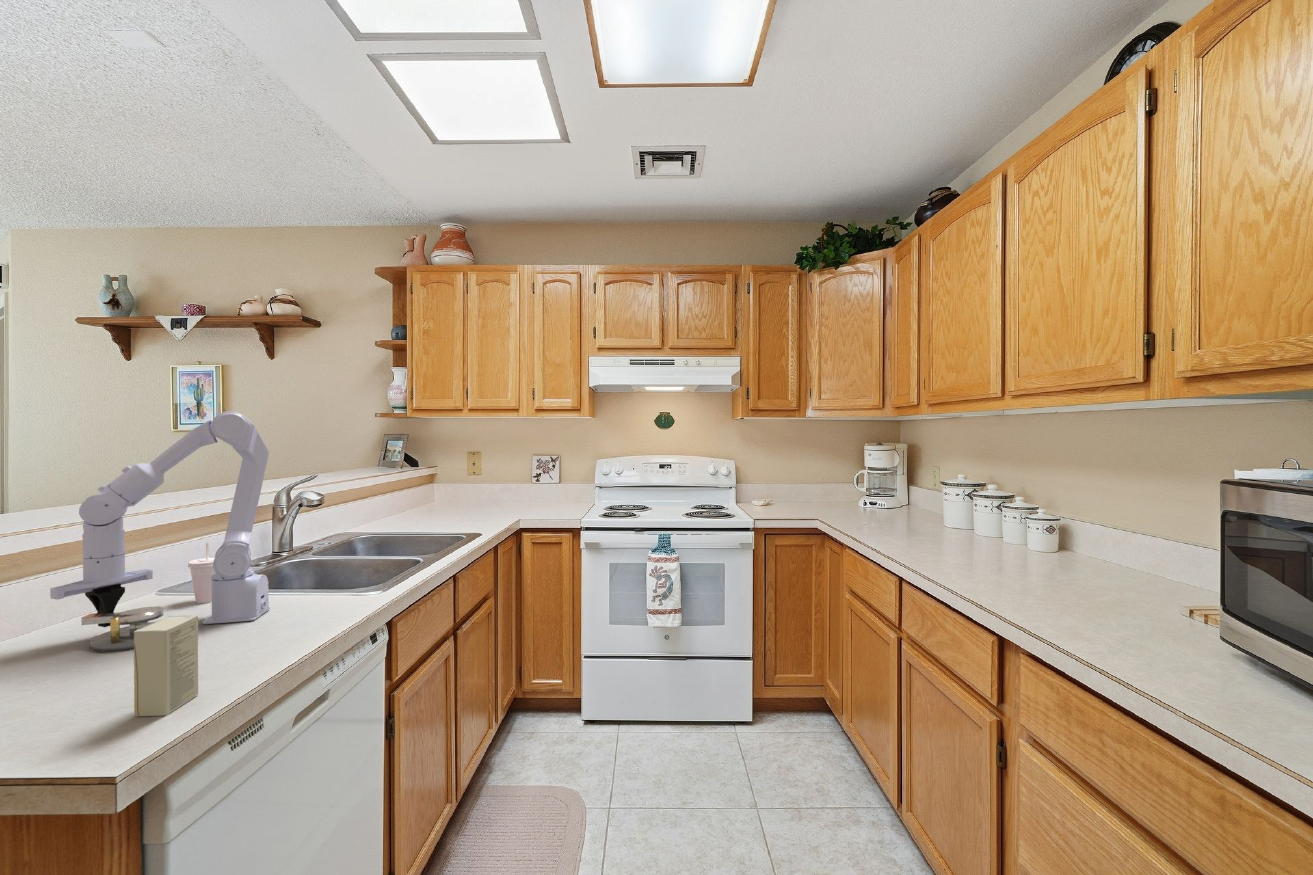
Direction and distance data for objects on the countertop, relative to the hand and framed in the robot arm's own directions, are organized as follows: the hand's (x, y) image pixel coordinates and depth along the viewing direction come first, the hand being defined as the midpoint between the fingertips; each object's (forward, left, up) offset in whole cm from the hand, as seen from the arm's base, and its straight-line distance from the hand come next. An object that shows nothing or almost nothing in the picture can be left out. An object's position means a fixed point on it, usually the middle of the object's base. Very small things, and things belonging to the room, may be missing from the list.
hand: (105, 625), depth 105 cm
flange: (-4, +2, +2) cm, 5 cm away
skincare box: (-28, +35, -3) cm, 45 cm away
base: (-7, +2, -2) cm, 7 cm away
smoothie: (-6, -22, -3) cm, 23 cm away
